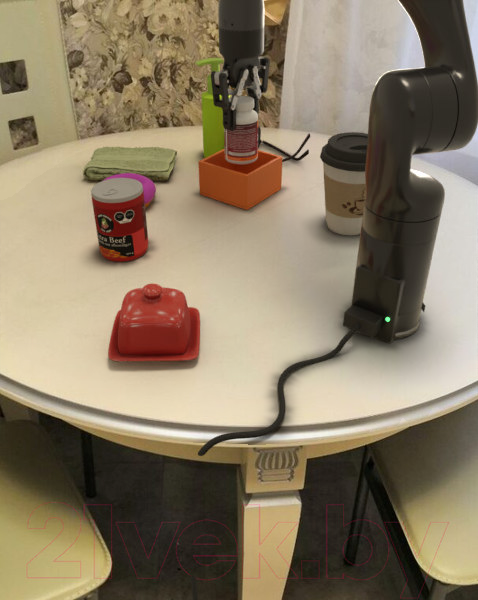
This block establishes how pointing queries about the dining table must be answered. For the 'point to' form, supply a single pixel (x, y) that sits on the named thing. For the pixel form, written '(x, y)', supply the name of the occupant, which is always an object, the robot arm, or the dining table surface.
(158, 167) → the washcloth
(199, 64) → the soap dispenser
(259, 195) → the bin
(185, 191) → the dining table surface
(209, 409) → the dining table surface
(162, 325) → the butter dish
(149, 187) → the donut
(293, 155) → the sunglasses
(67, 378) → the dining table surface
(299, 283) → the dining table surface
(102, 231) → the canned food
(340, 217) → the coffee cup
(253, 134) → the pill bottle
